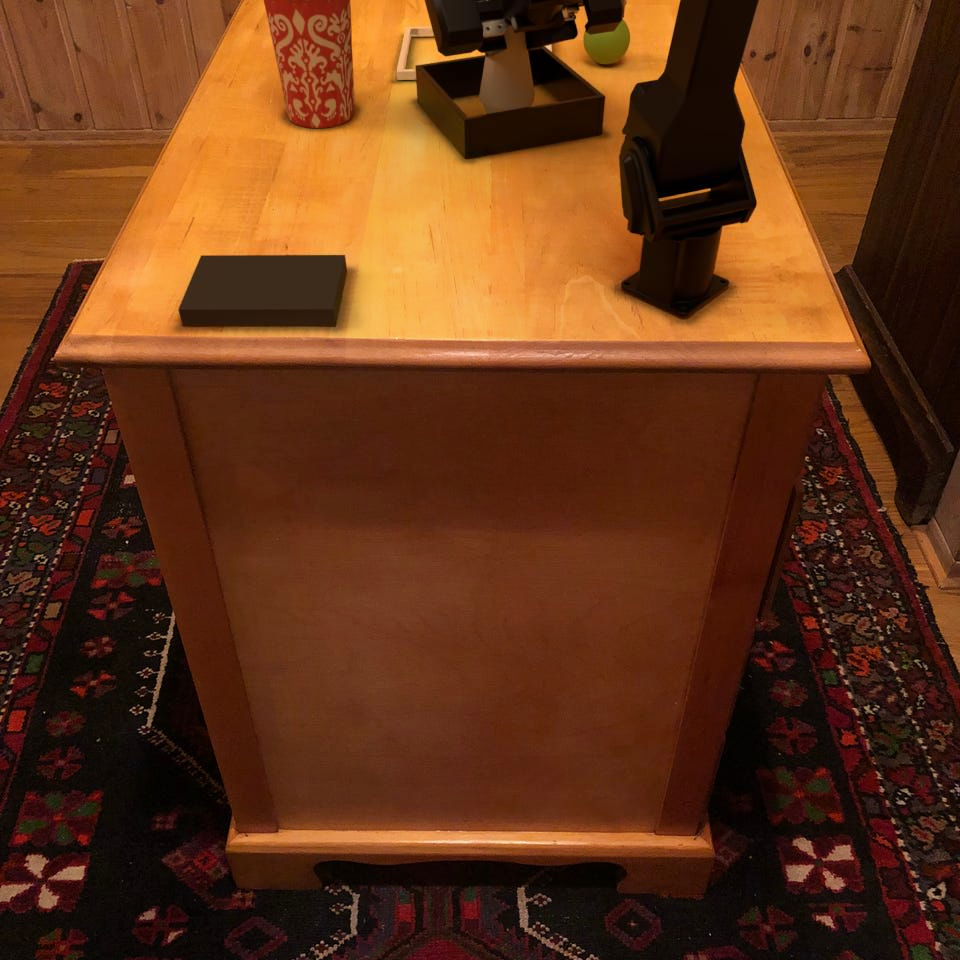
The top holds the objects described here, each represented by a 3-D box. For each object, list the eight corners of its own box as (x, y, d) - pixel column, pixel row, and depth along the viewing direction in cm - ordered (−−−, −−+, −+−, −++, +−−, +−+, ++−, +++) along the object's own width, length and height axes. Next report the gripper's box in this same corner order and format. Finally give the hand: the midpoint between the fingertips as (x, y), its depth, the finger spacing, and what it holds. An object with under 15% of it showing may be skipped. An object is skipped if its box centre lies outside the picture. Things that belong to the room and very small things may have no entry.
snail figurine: (566, 62, 113) (571, -50, 104) (608, 51, 115) (617, -59, 107) (594, 77, 110) (602, -38, 101) (637, 65, 112) (648, -48, 104)
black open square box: (602, 134, 98) (605, 96, 96) (465, 159, 94) (464, 120, 92) (543, 81, 109) (544, 45, 106) (417, 102, 105) (415, 65, 102)
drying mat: (336, 326, 74) (333, 308, 73) (182, 326, 74) (177, 309, 73) (347, 271, 80) (345, 254, 79) (204, 271, 80) (200, 255, 79)
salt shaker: (528, 131, 99) (532, -2, 90) (475, 127, 100) (473, -6, 91) (537, 109, 103) (541, -21, 94) (486, 105, 104) (485, -24, 95)
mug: (358, 133, 99) (344, -6, 90) (272, 132, 99) (249, -6, 90) (373, 86, 108) (361, -45, 99) (294, 85, 109) (275, -45, 99)
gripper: (622, -138, 85) (564, -37, 100) (425, -118, 80) (396, -15, 95) (654, -17, 85) (592, 66, 100) (459, 10, 81) (424, 92, 96)
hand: (502, 50), depth 98 cm, fingers closed on salt shaker, 3 cm apart
